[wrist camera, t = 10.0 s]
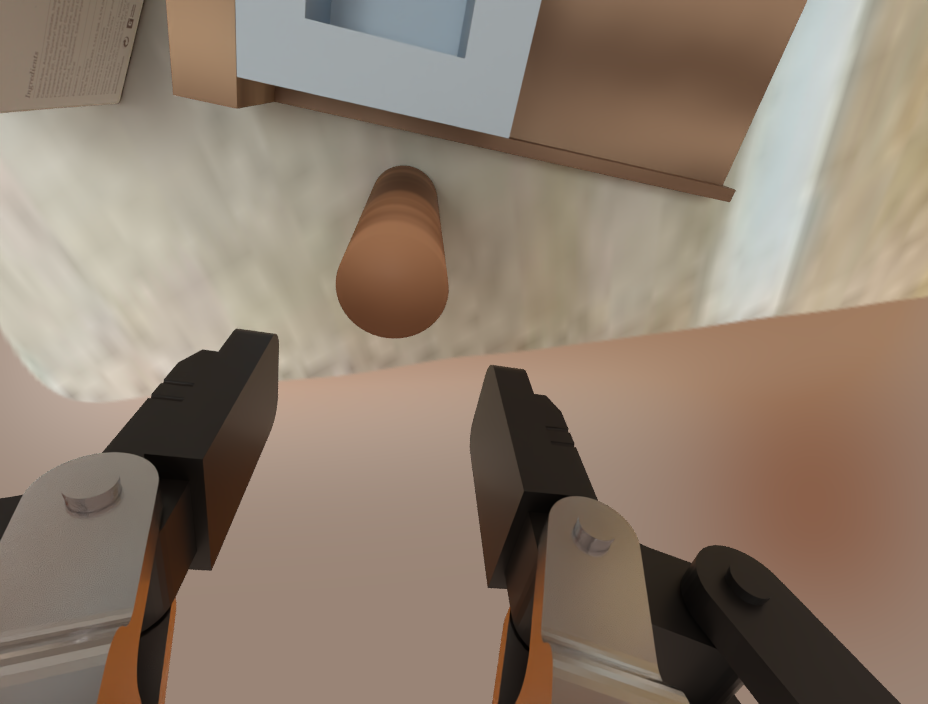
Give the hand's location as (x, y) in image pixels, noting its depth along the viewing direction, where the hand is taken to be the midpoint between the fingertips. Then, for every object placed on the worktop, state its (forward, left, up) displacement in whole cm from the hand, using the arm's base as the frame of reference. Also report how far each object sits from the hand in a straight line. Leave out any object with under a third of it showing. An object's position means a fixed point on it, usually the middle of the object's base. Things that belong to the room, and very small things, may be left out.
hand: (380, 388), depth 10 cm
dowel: (0, 0, -17) cm, 17 cm away
